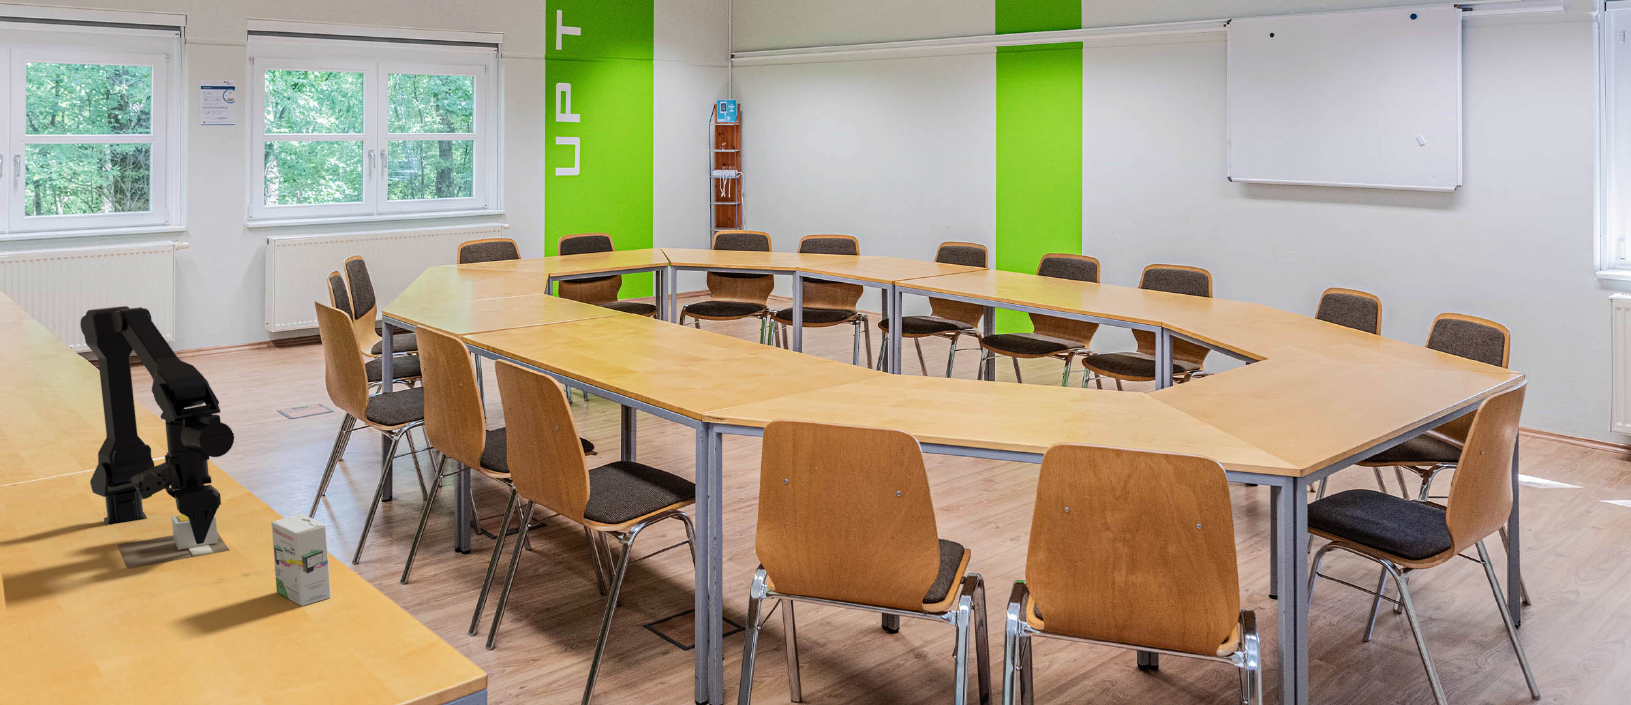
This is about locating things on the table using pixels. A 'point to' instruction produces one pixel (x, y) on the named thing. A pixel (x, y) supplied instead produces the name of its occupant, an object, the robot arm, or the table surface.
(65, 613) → the table surface
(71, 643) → the table surface
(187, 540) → the block
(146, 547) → the subfloor board
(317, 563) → the ink box
